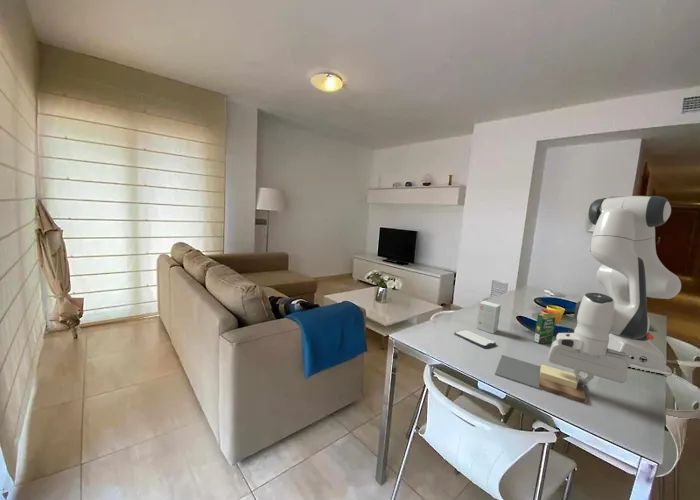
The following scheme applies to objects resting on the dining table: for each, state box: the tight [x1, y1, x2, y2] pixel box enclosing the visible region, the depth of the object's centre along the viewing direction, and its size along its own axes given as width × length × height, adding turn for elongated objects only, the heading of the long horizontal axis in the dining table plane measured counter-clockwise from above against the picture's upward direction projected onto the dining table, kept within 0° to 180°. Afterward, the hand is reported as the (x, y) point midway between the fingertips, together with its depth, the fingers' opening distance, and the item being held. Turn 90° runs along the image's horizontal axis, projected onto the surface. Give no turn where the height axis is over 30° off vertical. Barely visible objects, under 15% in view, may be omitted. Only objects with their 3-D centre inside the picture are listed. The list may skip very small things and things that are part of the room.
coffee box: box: [533, 312, 557, 345], centre depth 137 cm, size 8×3×13 cm, turn 107°
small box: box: [475, 300, 502, 334], centre depth 147 cm, size 8×6×13 cm
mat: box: [494, 354, 543, 391], centre depth 109 cm, size 14×18×1 cm
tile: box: [540, 364, 577, 389], centre depth 103 cm, size 10×7×2 cm
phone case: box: [453, 329, 497, 350], centre depth 135 cm, size 9×2×16 cm
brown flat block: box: [539, 367, 586, 404], centre depth 103 cm, size 12×17×2 cm
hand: (581, 384), depth 100 cm, fingers closed
